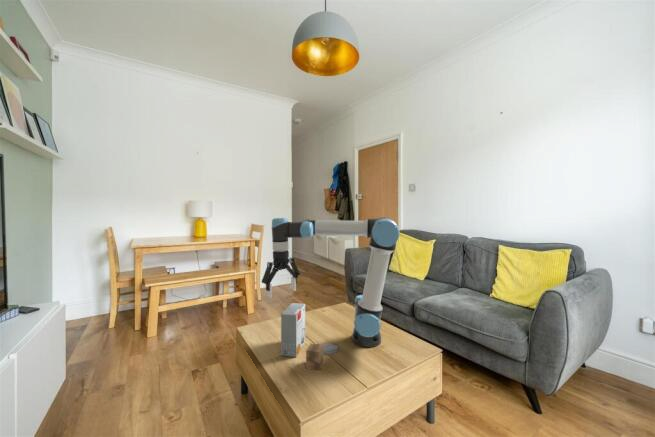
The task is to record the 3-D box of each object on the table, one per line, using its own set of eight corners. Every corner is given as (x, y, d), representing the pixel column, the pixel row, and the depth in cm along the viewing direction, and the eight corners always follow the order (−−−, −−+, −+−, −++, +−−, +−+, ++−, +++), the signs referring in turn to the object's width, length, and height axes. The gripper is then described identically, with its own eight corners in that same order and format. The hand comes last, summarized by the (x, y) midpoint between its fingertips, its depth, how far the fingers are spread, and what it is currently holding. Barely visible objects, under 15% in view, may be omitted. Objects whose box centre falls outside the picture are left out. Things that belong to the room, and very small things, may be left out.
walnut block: (323, 362, 120) (323, 344, 120) (319, 370, 114) (319, 352, 114) (310, 360, 122) (310, 343, 121) (306, 368, 116) (306, 350, 115)
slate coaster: (339, 346, 134) (339, 344, 134) (336, 356, 125) (336, 354, 125) (322, 344, 136) (322, 342, 136) (317, 353, 127) (317, 352, 127)
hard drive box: (296, 358, 124) (295, 315, 122) (280, 356, 125) (280, 314, 124) (305, 340, 139) (305, 303, 138) (291, 339, 140) (291, 302, 139)
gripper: (297, 246, 140) (298, 286, 141) (252, 253, 123) (254, 298, 124) (306, 247, 134) (307, 289, 135) (261, 255, 117) (263, 302, 118)
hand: (282, 293), depth 130 cm, fingers open, 13 cm apart
